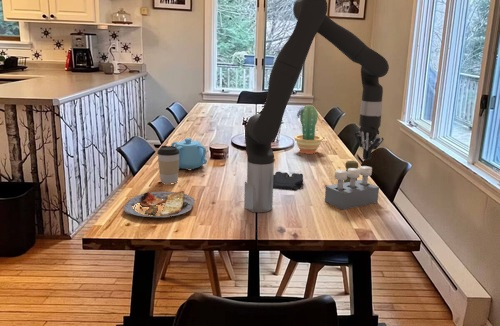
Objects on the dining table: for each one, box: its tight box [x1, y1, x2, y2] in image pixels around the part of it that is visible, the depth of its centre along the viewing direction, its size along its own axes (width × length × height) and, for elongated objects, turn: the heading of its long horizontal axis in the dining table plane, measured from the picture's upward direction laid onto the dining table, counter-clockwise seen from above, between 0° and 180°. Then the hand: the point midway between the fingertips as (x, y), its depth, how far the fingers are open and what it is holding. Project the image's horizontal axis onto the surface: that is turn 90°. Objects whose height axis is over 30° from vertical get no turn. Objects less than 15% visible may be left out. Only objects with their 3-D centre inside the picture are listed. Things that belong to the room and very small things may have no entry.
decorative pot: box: [170, 137, 208, 170], centre depth 209 cm, size 16×16×14 cm
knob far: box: [359, 165, 373, 186], centre depth 170 cm, size 4×4×8 cm
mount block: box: [324, 179, 380, 211], centre depth 168 cm, size 17×10×6 cm, turn 120°
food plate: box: [122, 190, 196, 218], centre depth 159 cm, size 25×23×4 cm
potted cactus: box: [294, 105, 324, 155], centre depth 241 cm, size 15×16×25 cm
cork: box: [343, 160, 359, 183], centre depth 185 cm, size 6×6×11 cm
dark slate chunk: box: [273, 171, 304, 191], centre depth 189 cm, size 15×22×5 cm
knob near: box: [334, 169, 347, 191], centre depth 164 cm, size 4×4×8 cm
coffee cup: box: [157, 145, 180, 185], centre depth 186 cm, size 9×9×15 cm
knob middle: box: [347, 168, 361, 188], centre depth 167 cm, size 4×4×8 cm
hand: (366, 159), depth 168 cm, fingers closed
